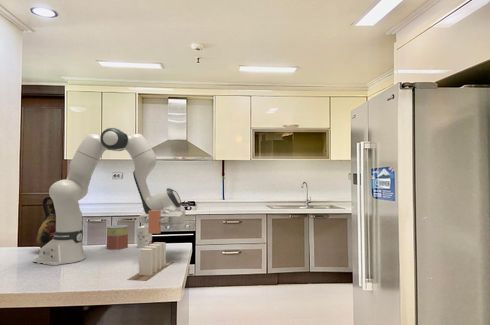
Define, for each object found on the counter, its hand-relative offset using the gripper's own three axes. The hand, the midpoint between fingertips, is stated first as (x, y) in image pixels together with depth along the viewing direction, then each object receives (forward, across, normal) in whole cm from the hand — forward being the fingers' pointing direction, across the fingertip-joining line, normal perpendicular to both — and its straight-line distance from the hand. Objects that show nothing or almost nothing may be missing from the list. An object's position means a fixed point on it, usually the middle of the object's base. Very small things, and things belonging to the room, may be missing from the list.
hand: (153, 220), depth 137 cm
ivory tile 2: (0, +3, +19) cm, 20 cm away
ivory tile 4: (+8, +3, +19) cm, 21 cm away
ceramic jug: (-19, -69, +20) cm, 75 cm away
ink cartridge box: (-38, -25, +21) cm, 51 cm away
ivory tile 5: (+12, +3, +19) cm, 23 cm away
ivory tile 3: (+4, +3, +19) cm, 20 cm away
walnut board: (+6, +3, +21) cm, 22 cm away
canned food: (-33, -39, +20) cm, 56 cm away
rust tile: (-1, 0, +6) cm, 6 cm away
